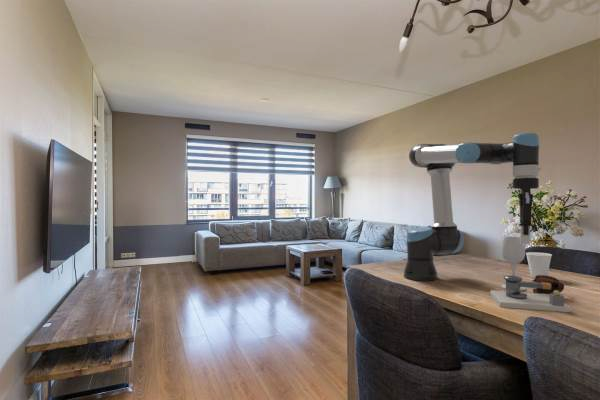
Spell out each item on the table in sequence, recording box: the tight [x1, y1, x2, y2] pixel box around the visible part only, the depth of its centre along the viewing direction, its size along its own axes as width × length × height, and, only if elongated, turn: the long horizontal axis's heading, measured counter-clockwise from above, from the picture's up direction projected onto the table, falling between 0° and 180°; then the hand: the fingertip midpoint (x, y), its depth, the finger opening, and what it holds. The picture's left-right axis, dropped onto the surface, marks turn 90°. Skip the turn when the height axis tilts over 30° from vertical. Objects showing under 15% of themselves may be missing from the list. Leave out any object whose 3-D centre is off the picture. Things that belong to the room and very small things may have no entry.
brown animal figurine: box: [531, 275, 565, 294], centre depth 126 cm, size 12×9×8 cm
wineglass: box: [501, 236, 527, 292], centre depth 135 cm, size 9×9×21 cm
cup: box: [525, 251, 553, 279], centre depth 152 cm, size 10×10×11 cm
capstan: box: [503, 274, 551, 299], centre depth 118 cm, size 14×6×7 cm, turn 67°
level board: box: [489, 290, 571, 313], centre depth 117 cm, size 20×15×6 cm
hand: (525, 243), depth 117 cm, fingers closed
